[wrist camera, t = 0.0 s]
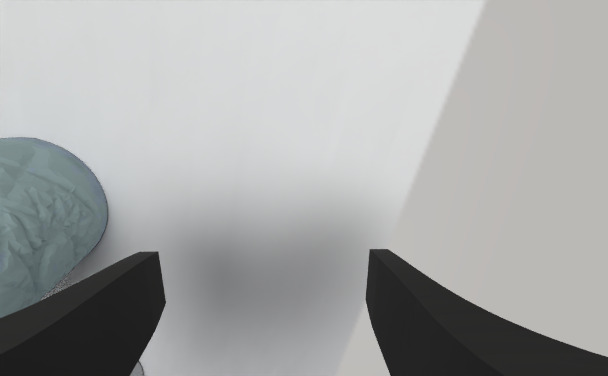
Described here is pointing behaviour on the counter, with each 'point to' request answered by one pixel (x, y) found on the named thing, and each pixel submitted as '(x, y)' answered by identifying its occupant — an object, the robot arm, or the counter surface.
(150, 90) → the counter surface
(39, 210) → the teal tapered cup
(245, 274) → the counter surface
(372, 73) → the counter surface
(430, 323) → the robot arm
